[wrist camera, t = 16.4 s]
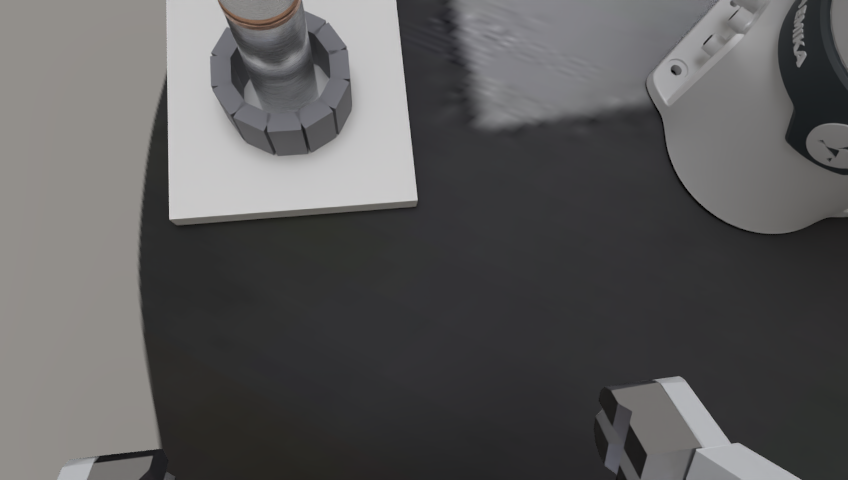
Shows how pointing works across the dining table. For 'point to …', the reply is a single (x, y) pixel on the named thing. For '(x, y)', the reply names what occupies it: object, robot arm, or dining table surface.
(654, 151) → the dining table surface
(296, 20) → the silver peg
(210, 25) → the collar plate
